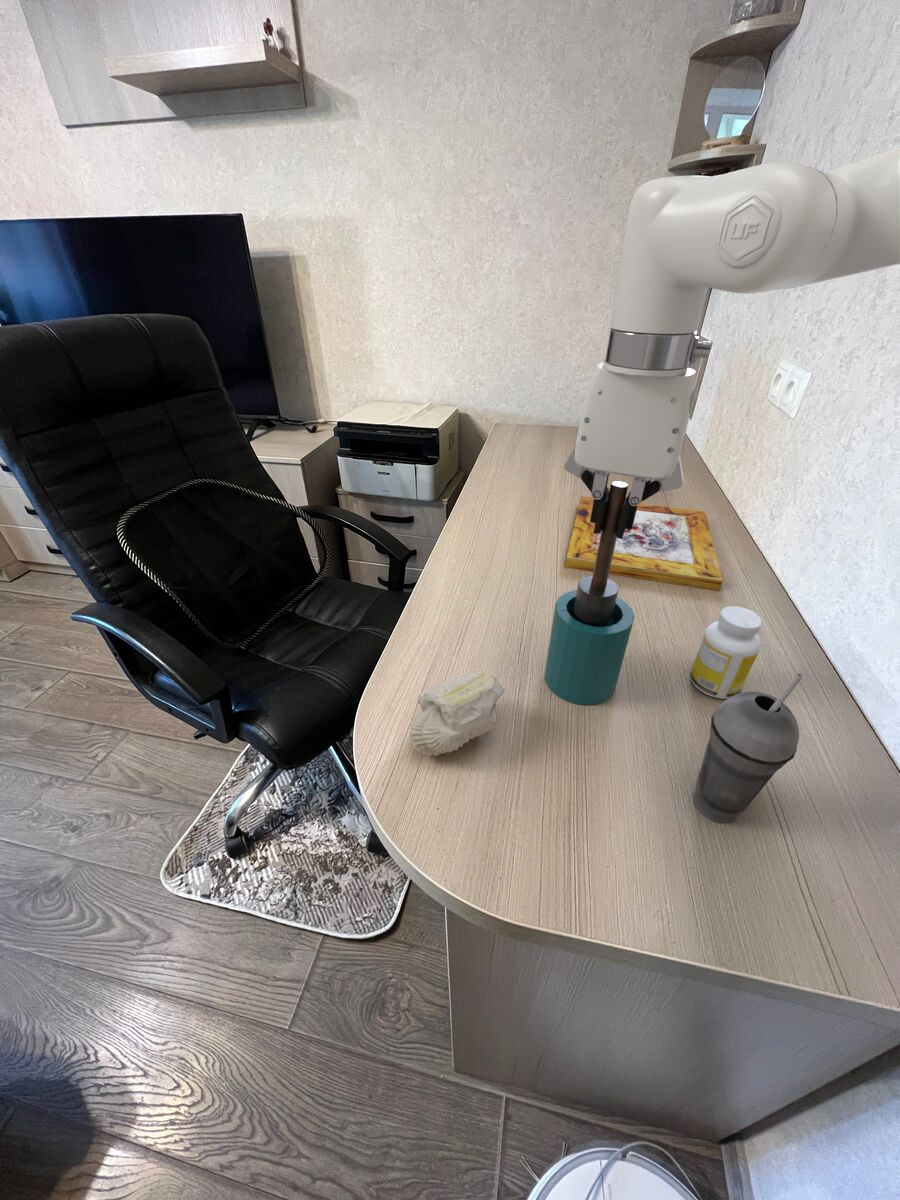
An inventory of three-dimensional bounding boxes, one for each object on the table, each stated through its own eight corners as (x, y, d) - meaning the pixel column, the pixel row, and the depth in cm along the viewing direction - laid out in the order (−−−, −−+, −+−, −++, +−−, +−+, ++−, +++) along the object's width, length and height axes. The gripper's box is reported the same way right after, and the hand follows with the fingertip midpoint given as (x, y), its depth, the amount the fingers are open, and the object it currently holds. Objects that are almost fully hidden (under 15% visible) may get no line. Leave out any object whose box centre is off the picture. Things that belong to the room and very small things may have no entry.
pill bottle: (742, 679, 70) (773, 612, 63) (736, 708, 65) (768, 639, 59) (693, 662, 73) (717, 596, 66) (684, 689, 68) (709, 621, 62)
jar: (620, 668, 72) (639, 599, 65) (608, 714, 64) (627, 642, 58) (555, 650, 75) (565, 582, 68) (536, 691, 68) (546, 621, 61)
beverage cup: (715, 767, 58) (781, 631, 46) (769, 822, 52) (859, 683, 41) (665, 787, 56) (721, 649, 44) (715, 846, 50) (794, 706, 39)
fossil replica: (392, 749, 60) (465, 789, 56) (389, 707, 54) (470, 748, 51) (442, 682, 68) (509, 714, 65) (444, 639, 63) (517, 671, 59)
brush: (615, 607, 64) (645, 480, 54) (608, 627, 61) (639, 496, 51) (578, 598, 66) (601, 473, 56) (569, 617, 62) (592, 488, 52)
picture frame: (705, 511, 111) (723, 580, 87) (702, 520, 112) (719, 590, 88) (580, 496, 117) (566, 557, 94) (579, 504, 118) (565, 567, 95)
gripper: (741, 352, 46) (686, 531, 57) (572, 341, 52) (550, 506, 62) (743, 366, 41) (681, 561, 51) (553, 351, 46) (532, 531, 57)
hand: (610, 530), depth 57 cm, fingers closed on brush
